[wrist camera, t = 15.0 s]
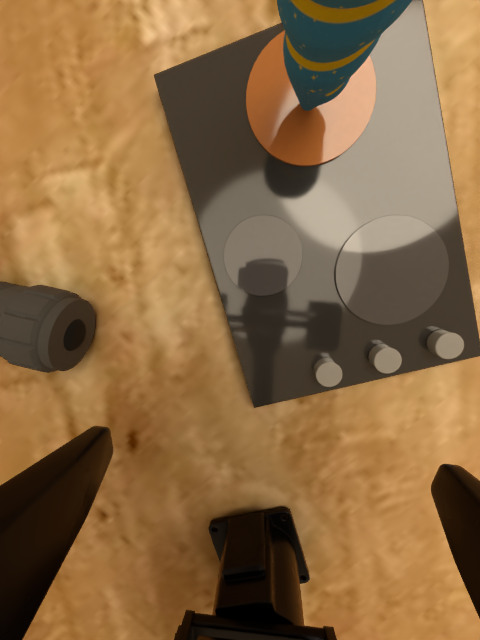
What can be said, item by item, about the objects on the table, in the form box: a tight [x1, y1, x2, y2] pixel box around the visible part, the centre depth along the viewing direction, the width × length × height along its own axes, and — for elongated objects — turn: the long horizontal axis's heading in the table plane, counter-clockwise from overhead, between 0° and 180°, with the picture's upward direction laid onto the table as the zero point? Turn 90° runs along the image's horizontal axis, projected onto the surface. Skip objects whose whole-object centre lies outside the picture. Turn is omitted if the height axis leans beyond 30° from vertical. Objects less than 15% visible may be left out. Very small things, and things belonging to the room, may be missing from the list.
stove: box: [154, 0, 480, 408], centre depth 17 cm, size 21×14×2 cm
